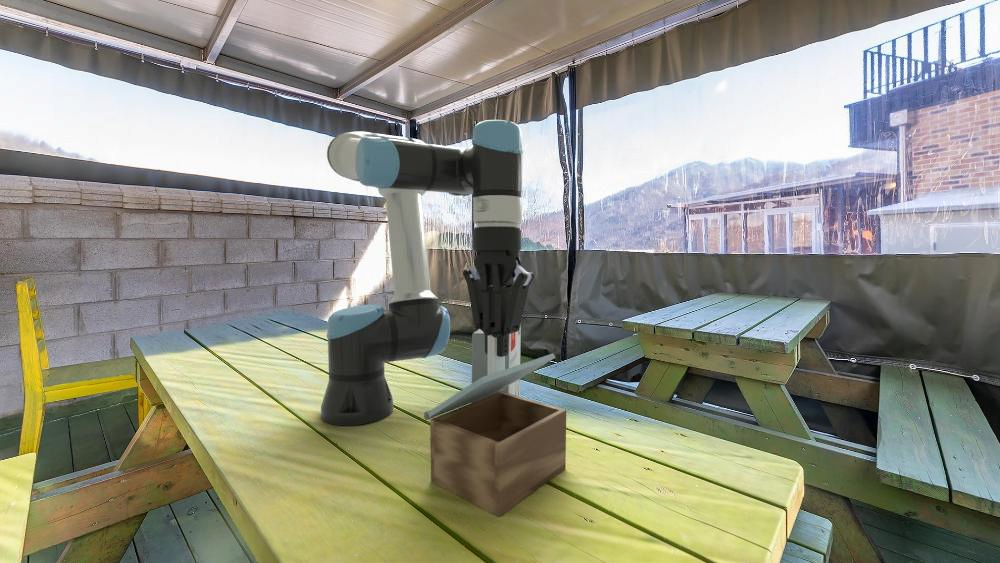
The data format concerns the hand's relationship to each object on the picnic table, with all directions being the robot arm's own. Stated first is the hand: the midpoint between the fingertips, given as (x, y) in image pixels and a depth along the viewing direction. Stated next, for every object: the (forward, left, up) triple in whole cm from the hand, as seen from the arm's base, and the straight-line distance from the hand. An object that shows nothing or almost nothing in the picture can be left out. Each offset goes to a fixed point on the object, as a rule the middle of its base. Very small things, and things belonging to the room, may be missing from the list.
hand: (496, 375), depth 69 cm
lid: (-1, 0, -2) cm, 2 cm away
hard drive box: (-14, +17, -17) cm, 28 cm away
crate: (+1, 0, -16) cm, 16 cm away
